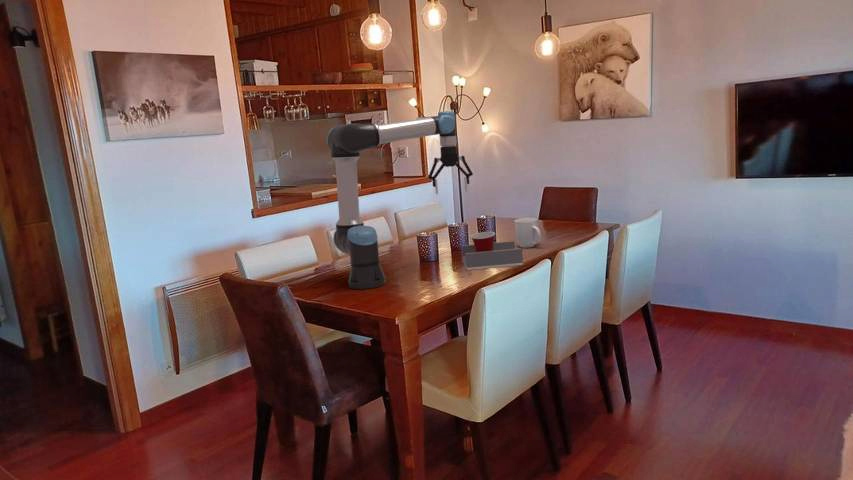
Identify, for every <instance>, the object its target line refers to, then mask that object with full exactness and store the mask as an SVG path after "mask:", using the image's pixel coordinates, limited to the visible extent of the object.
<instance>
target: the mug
mask: <svg viewBox="0 0 853 480" xmlns="http://www.w3.org/2000/svg"><path fill="white" fill-rule="evenodd" d="M514 234H515V235H514V236H515V239H516V242H517V244H518V246H519V247H520V248H522V249H529V248H533V247H535V245H536V244H538V243H540V242H541V240H542V233H541V230H540V228H539V225H538V219H537V218H532V217H525V218H524V217H523V218H522V217H521V218H516V219H515V220H514Z"/></svg>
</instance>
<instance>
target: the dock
mask: <svg viewBox="0 0 853 480" xmlns="http://www.w3.org/2000/svg"><path fill="white" fill-rule="evenodd" d="M515 244H516V243H515V240H508V241H498V242H496V241H494V242H493V251H486V252H476V250H475V246H474V243H473V244H461V257H462V258H461V260H462V263H463V265H464V267H465V269H466V271H472V270H481V269H482V270H483V269H484V268H485V269H494V268H503V267H504V268H505V267H515V266H523V265H524V257H523V255H524V254H523V248H522V247H520V248H516V245H515Z"/></svg>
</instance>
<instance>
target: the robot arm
mask: <svg viewBox="0 0 853 480" xmlns="http://www.w3.org/2000/svg"><path fill="white" fill-rule="evenodd" d="M456 121H457V120H456V114H455V111H453V110H445V111H438V113H437V115H434V116H421V117H416V118H415V119H409V120H402V121H396V122H390V123H383V124H376V123H374V122H373V123H345V124H343V123H341V124H337V125H335V126H333V127H331V129H330V130H329V131H328V133H327V136H326V144H327V147H328V148H329V150H330V154H331V159H332V160H333V161H334V163H335V175H336V188H337V189H336V190H337V204H338V206H337V207H338V220H337V221H336V223H335V231H334V232H333V237H332V238H333V243H334V246H335V247H336V248H337V249H338V251H339V252H341V253H343V254H345V255H348V256H349V258H350V270H349V271H350V272H349V277H348V280H347V281H348V287H349V288H350V289H352V290H353V289H354V290H369V289H374V288H379V287H381V286H384V285H385V284H386V283H387V280H386V275H385V272H384V270H383V268H382V266H381V263H380V255H379V254H380V253H379V243H378V237H379V236H378V233H377V230H376V228H374V227H373V226H369V225H364V224H365V223H364V221H363V220H362V219H361V218H360V217H361V216H360V203H359V202H360V201H359V183H358V181H359V180H358V167H357V161H358V160H359V159H360V158H361V153H360V152H363V151H366V150H369V149H375V148H378V147H380V145H382V144H389V143H394V142H395V143H396V142H400V141H406V140H407V141H408V140H412V139H418V138H424V137H431V136H436V135H439V145H440V157H434V158H433V164H432V167H431V169H430V172H429V173H428V179H430V180H432V187H434V188H435V194H436V195H439V190H438V179H437V177H438V176H439V175H440V173H441V172H442V170H443V169H444V168H445V167H446V168H449V167H451V168H452V167H455V166H456V168H457V169H458V170H459V171H460V172H461V173H462V174H463V175H464V191H465V192H466V193H467V192H468V185H469V184H470V177H472V176H473V175H474V173H473V172H472V170H471V168H470V166H469V165H468V163H467V161H466V159H465V156H464V155H460V156H458V146H457V143H458V141H457V140H458V139H457V128H456ZM459 160H460V161H461V162H462V163H463V165H464V167H465V169H466V170H467V172H466V170H464V168H462V166H461V165H460V164H459V163H458V161H459ZM439 162H441V165H440V166H439V168H438V169H437V171H436V172H435V173H434V171H435V170H436V167H437V163H439ZM433 174H434V175H433Z"/></svg>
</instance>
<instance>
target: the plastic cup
mask: <svg viewBox="0 0 853 480" xmlns="http://www.w3.org/2000/svg"><path fill="white" fill-rule="evenodd" d="M495 236H496V233H495V232H494V231H483V232H477V233H474V234H472V235H470V238H471V239H472V242H473V244H474V246H475V250H476V252H486V251H493V243H495V241H494V240H495Z"/></svg>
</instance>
